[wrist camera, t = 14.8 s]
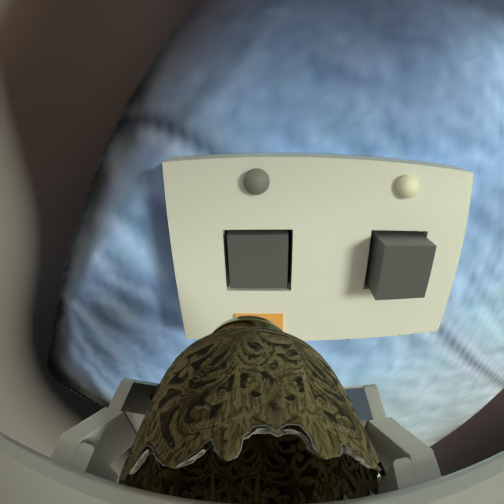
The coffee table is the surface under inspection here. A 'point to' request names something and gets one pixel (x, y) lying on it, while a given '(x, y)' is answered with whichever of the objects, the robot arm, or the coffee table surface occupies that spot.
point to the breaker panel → (311, 238)
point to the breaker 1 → (258, 258)
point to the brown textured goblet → (252, 424)
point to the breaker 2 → (399, 264)
